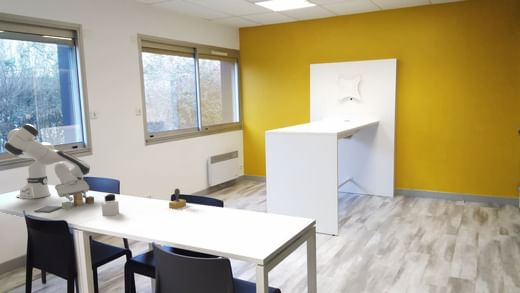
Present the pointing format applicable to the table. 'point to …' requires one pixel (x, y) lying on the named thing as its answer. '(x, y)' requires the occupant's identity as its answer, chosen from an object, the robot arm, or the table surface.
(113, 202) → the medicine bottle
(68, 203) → the sage cube
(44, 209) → the grey mat
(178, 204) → the rubber stamp
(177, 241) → the table surface
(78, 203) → the oak block
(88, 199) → the walnut cube
